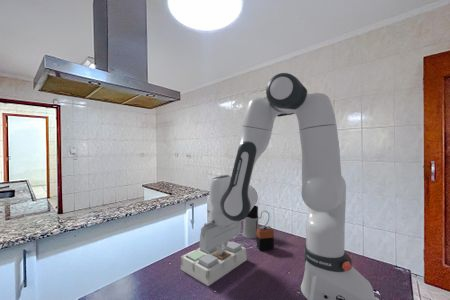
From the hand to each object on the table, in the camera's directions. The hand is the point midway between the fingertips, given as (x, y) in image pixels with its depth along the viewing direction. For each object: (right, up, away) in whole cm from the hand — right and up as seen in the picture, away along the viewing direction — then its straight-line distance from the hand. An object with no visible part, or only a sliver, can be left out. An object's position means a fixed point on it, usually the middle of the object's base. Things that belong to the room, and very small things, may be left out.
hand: (221, 253), depth 83 cm
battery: (+20, -6, +16) cm, 26 cm away
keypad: (-3, -6, +3) cm, 7 cm away
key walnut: (0, -3, 0) cm, 3 cm away
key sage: (-10, -3, 0) cm, 11 cm away
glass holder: (+17, -5, +30) cm, 35 cm away
